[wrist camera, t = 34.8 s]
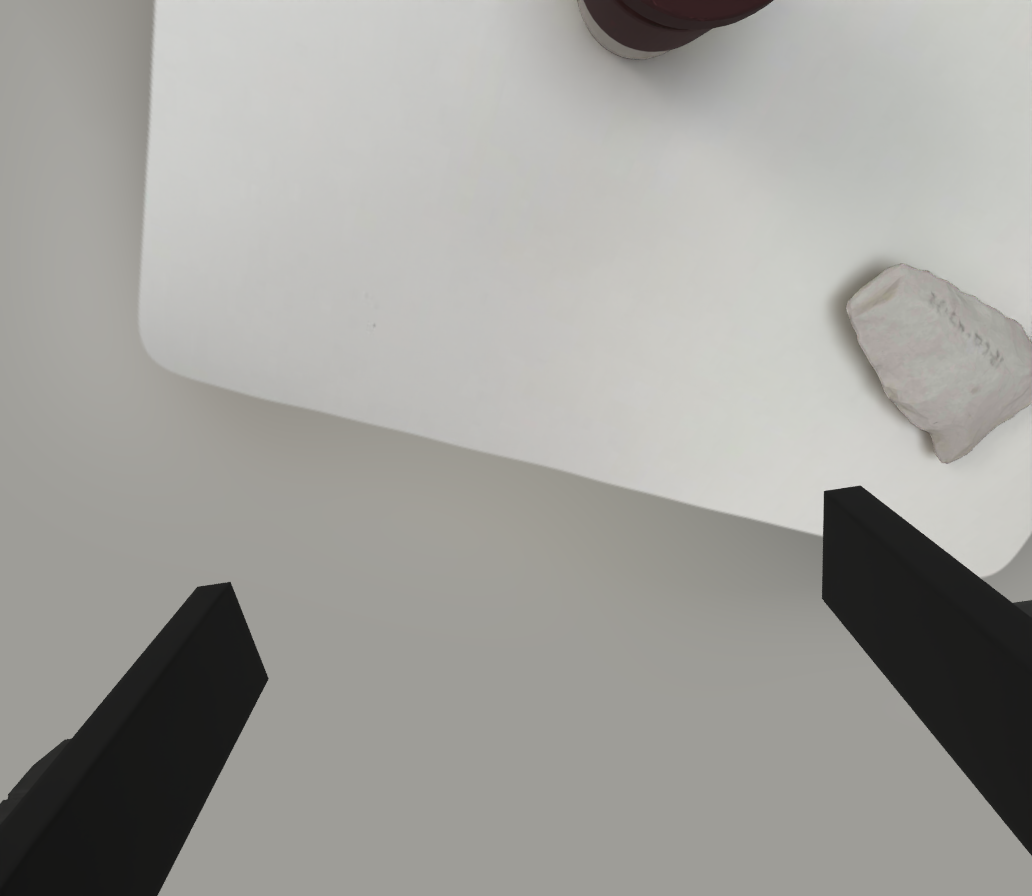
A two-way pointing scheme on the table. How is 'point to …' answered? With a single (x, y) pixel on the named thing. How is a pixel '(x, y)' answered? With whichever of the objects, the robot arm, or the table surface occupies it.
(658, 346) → the table surface
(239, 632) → the robot arm
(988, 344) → the decorative stone
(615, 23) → the coffee cup
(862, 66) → the table surface
